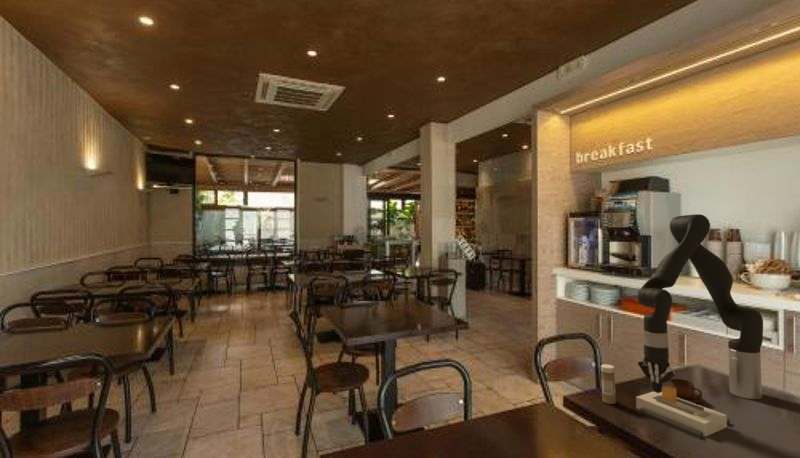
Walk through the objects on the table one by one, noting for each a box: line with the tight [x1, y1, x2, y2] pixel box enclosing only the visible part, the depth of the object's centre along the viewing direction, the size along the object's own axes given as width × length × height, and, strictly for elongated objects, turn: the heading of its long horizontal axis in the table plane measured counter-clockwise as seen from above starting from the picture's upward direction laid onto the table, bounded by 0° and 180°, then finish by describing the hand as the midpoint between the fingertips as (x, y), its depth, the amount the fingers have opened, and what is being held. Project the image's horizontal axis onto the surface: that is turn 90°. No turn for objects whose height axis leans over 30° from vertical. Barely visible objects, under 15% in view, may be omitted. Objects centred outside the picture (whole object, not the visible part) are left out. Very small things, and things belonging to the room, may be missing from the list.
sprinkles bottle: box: [600, 363, 616, 405], centre depth 146 cm, size 5×5×13 cm
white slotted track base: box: [638, 408, 731, 440], centre depth 132 cm, size 19×20×1 cm
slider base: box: [635, 390, 728, 437], centre depth 133 cm, size 12×22×5 cm, turn 25°
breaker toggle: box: [661, 384, 677, 403], centre depth 136 cm, size 3×3×5 cm
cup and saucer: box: [669, 378, 703, 404], centre depth 147 cm, size 12×12×6 cm
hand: (657, 391), depth 140 cm, fingers closed
